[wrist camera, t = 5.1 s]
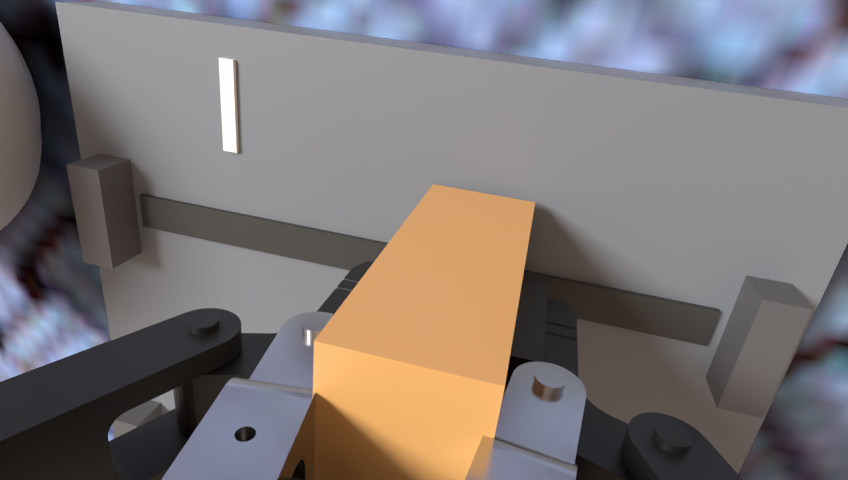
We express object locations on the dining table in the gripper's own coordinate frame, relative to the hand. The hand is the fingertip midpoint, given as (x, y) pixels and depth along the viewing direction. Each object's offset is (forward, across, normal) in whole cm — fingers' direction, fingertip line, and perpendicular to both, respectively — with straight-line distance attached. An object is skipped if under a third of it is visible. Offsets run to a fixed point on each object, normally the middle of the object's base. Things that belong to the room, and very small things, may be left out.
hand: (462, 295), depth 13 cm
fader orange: (+1, 0, 0) cm, 1 cm away
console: (+3, +2, +4) cm, 6 cm away
